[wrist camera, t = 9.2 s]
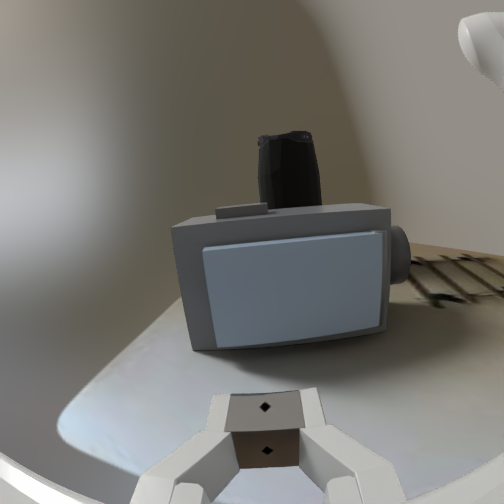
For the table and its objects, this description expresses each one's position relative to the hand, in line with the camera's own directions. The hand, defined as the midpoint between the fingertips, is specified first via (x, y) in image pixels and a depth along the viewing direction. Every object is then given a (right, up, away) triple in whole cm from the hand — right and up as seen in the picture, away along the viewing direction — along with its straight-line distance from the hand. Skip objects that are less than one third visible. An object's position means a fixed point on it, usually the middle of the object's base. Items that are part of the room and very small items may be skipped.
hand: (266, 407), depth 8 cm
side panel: (+3, -2, +12) cm, 13 cm away
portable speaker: (+6, +2, +35) cm, 35 cm away
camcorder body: (+4, -2, +17) cm, 18 cm away
